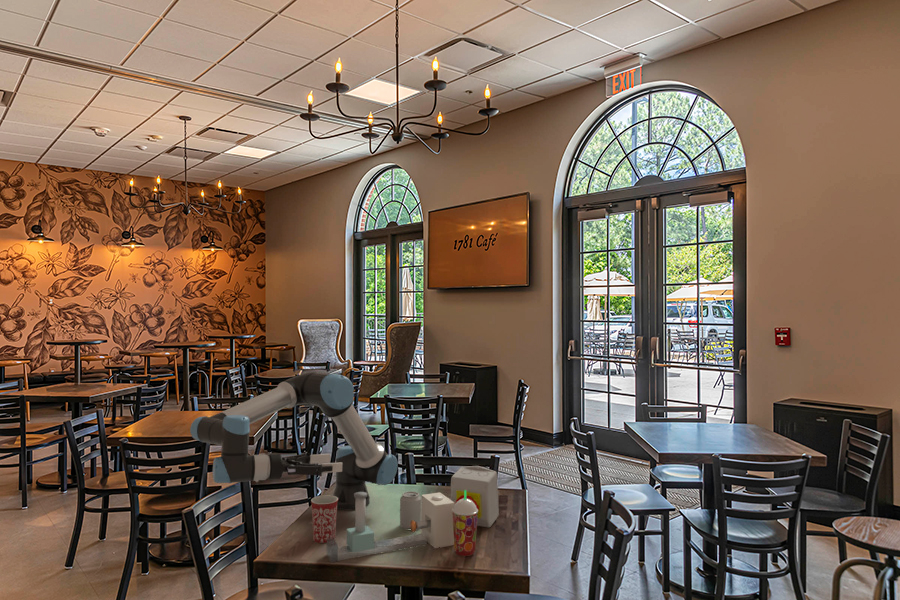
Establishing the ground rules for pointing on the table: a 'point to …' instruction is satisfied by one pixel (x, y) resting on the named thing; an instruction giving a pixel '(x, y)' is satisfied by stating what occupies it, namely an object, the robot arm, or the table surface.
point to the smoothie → (465, 526)
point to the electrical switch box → (477, 491)
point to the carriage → (360, 527)
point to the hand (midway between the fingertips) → (335, 462)
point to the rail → (379, 546)
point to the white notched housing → (438, 519)
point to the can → (410, 508)
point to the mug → (324, 517)
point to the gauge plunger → (419, 525)
